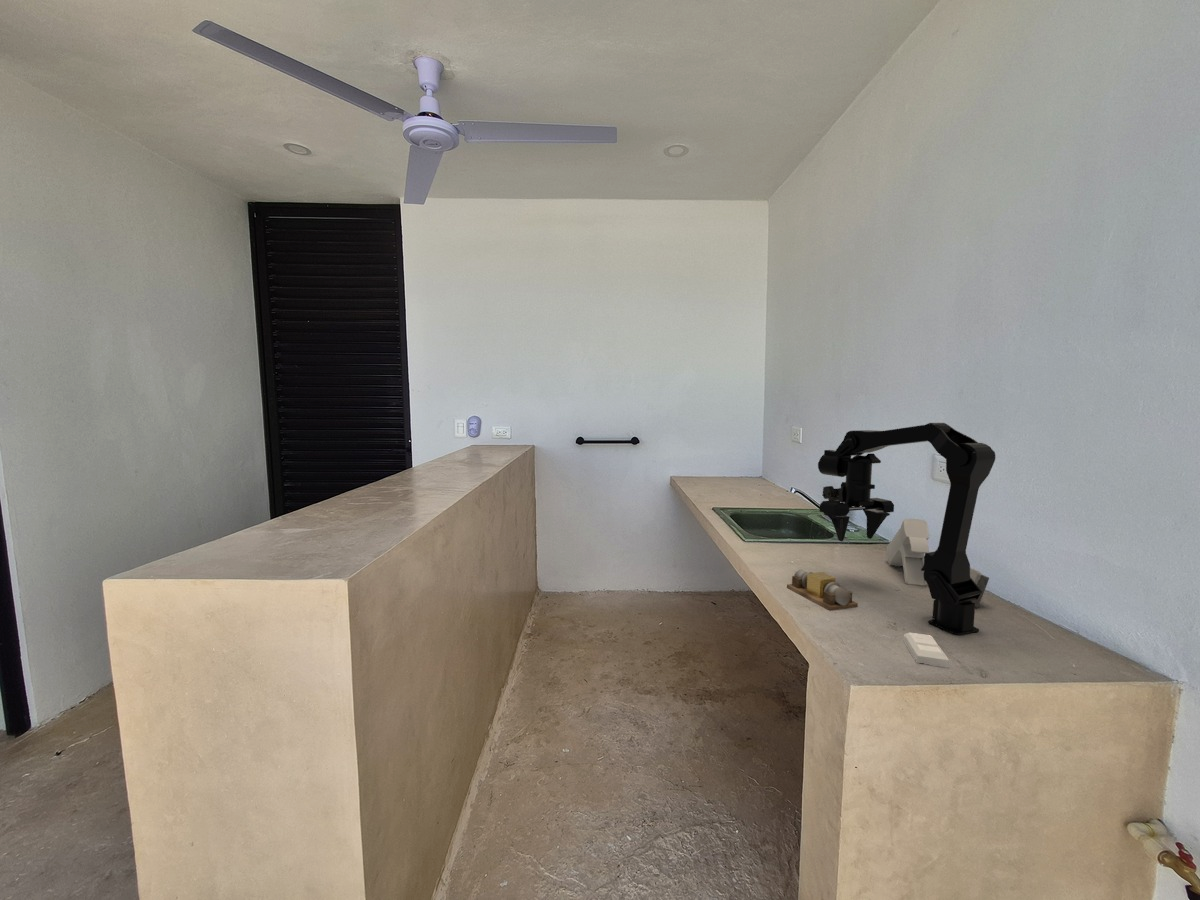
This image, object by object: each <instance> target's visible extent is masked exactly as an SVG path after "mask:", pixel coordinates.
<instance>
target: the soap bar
mask: <svg viewBox="0 0 1200 900" xmlns="http://www.w3.org/2000/svg"><path fill="white" fill-rule="evenodd" d="M903 642H904V644H905V646H906V647H907V649H908V651H909V652H910V654H911V656H912V658H913V659H914V661H915V660H916V661H915V662H916V664H919V663H924V664H923V665H926V664H929V665H928V666H933V665H934V667H939V668H941V667H942V668H947V669H949V667H950V659H949V658H948V657H947V655H946V654H945V653H944V651H943V649H942V648H941V647H940V646H939V644H938V642H936V640H935V638H933V636H932V635H929V634H923V633H915V632H910V631H909V632H906V633H903Z"/></svg>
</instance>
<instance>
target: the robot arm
mask: <svg viewBox="0 0 1200 900" xmlns="http://www.w3.org/2000/svg"><path fill="white" fill-rule="evenodd" d="M925 442H929V444H931V446H932V447H933V448H934V450H935V452H936V453H938V454H939V455H941V457H943V458H944V459H945V471H946V475H947V476H948V479H949V483H950V485H949V491H948V496H947V501H946V505H945V506H946V507H945V512H944V517H943V522H942V527H941V531H940V537H939V542H938V546H937V548H936V549H935V551H929V553H924V565H923V567H922V569H921V571H924V573H923V577H924V580H925V581H926V582H927V587H928V590H929V593H930V597H931V599H933V604H932V618H931V619H928V624H931V625H934V626H936V627H938V628H940V629H943V630H945V631H947V632H949V633H952V634H954V635H956V636H961V635H964V634H965V635H966V634H972V633H978V632H979V631H980V629H979V628H978V627H976V626H975V624H974V623H975V613H976V612H975V610H976V607H975V605H976V604H975V603H972V602H971V601H973V600H978V599H979V598H980V596H981V594H982V591H981V590H980V588H979V587H978V586H977V585H976V583H975V582H974V581H973V580H972V579H971V577H970V568H971V564H970V561H969V559H968V554H967V547H968V542H969V536H970V533H971V529H972V528H971V527H972V522H973V518H974V513H975V509H976V503H977V499H978V493H979V490H980V487H981V486H982V484H983V483H984V482H985V480H986V479H987V478H988V477H989V475H990V473H991V470H992V468H993V466H994V463H995V461H996V452H995V451H994V450H993V448H992V447H991V446H989V444H986V443H983V442H978V441H976V440H975V439H973V438H972V437H970V436H968V435H967V434H964V433H962V432H960V431H958V430H956V429H955V428H953V427H952V426H951V425H949V424H947V423H945V422H928V423H925V424H921V425H915V426H909V427H900V428H894V429H886V430H872V429H871V430H869V429H866V430H863V429H862V430H849V431H847V432H846V433H845V435H844V438H843V440H842V441H841V443H840V444H839V445H838V447H837V448H836V449H835V450H834V449H825V450H824V453H823V455H822V456H821V457H819V461H818V463H817V468H818V471H819V473H821V474H822V475H827V476H831V477H833V476H834V477H840V478H844V477H845V481H842V482H841V483H840V487H839V488H834V486H833V485H829V486H823V487H822V488H823V489H822V496H823V499H825V500H823V501H821V503H820V504H819V512H820V513H823V515H825V516H827V517H828V518H829V519H830V520H831V523H832V524H833V528H834V530H835V534H836V537H837V539H838V541H839V542H843V541H844V539H845V536H846V532H847V528H848V525H849V521H850V516H848V515H849V513H850V511H863V513H864V514H865V516H866V538H867V539H869V540H870V539H873V537H874V536H875V534H876V532H877V530H878V529H879V528H880V527H881V526H882V523H883V522H884V521H885V519H886V518H887V517H888V516H891V513H894V512H895V510H894V509H895V504H894V502H893V501H892V500H890V499H889V500H888V499H884V498H879V497H871V490H872V489H873V490H875V488H876V485H875V484H873V483H872V472H873V464H880V463H882V460H881V459H879V458H878V457H877V456H876V455H875V454H874V453H873V452H876V451H880V450H883V449H885V448H887V447H891V446H899V445H900V446H901V445H906V444H916V443H925ZM864 454H866V455H864ZM852 456H853V457H852Z"/></svg>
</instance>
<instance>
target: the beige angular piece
mask: <svg viewBox="0 0 1200 900" xmlns="http://www.w3.org/2000/svg"><path fill="white" fill-rule="evenodd" d="M929 536H930V533H929V526H928V522H927V520H925V519H919V518H904V519H903V520H902V522H901V525H900V527H899V529H898V530H897V532H896V533H895V535H894V536H893V537H892V539H891V541H890V542H889V544H888V545H887V547H886V558H887V562H888V563H887V564H888V565H889V566H893V565H895V566H894V567H900V566H903V567H902V569H903V577H904V584H906V585H914V586H921V587H922V586H923V587H928V584H927V582H926V581H925V580H924V577H923V573H924V571H921V569H922V567H923V565H924V556H925V553H929V552H930V548H929V543H928V539H930V537H929Z"/></svg>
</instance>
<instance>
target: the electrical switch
mask: <svg viewBox="0 0 1200 900" xmlns="http://www.w3.org/2000/svg"><path fill="white" fill-rule="evenodd" d="M970 577H971V579H972V580H973V581H974V582H975V583H976V585H977V586H978V587H979V588H980V590H981V591H982V594H981V596H980V598H979V599H978V600H973V601H971V602H972V603H975V609H978V608H979V606H980V604H981V601H982V598H983V596H984V593H985V591H986V588H987V585H988V582H989V580H990V577H988V576H986V575H984V574H982V572H981V571H980V570H977V569H975V568H972V567H970Z"/></svg>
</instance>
